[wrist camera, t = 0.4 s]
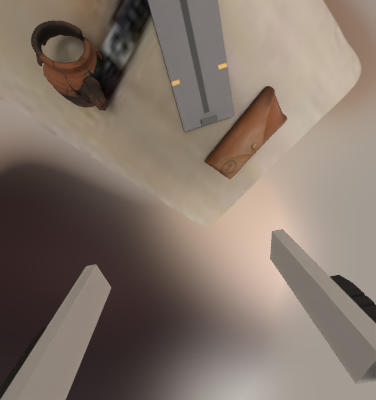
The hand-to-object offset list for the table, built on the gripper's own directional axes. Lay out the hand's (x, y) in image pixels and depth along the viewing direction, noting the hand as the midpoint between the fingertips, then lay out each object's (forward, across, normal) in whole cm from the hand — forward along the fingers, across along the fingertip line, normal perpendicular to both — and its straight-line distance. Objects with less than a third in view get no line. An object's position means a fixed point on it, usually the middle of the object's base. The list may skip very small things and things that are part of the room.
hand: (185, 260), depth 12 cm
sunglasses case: (+28, +15, +3) cm, 32 cm away
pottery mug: (+28, -13, +19) cm, 36 cm away
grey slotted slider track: (+27, +6, +21) cm, 35 cm away
